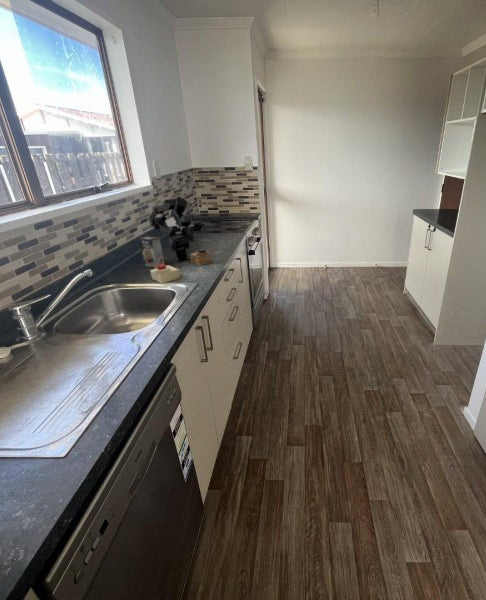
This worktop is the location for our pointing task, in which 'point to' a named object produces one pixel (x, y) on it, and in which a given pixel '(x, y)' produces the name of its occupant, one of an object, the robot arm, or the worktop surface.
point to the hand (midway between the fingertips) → (193, 241)
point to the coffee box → (151, 251)
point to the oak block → (200, 258)
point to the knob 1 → (161, 266)
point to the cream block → (165, 274)
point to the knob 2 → (202, 250)
